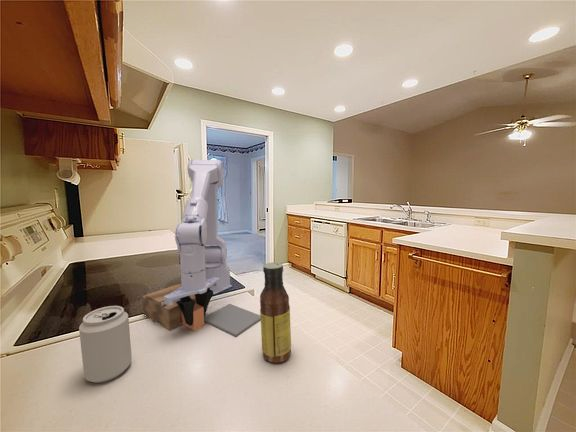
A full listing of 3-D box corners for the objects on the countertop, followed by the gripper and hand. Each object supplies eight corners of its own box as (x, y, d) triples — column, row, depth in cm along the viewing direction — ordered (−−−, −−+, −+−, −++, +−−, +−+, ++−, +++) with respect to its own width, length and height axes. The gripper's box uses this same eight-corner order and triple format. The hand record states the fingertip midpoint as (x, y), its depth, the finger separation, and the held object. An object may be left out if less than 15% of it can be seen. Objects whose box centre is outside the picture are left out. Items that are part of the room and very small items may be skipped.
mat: (229, 305, 74) (229, 303, 74) (262, 318, 67) (262, 316, 67) (201, 320, 66) (201, 318, 66) (235, 337, 58) (235, 334, 58)
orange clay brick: (171, 318, 67) (170, 300, 66) (181, 313, 69) (180, 296, 68) (194, 330, 61) (193, 311, 60) (204, 325, 63) (203, 306, 63)
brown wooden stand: (143, 315, 68) (142, 292, 67) (176, 301, 76) (175, 281, 75) (169, 330, 61) (168, 305, 60) (203, 313, 69) (202, 291, 68)
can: (114, 386, 44) (108, 324, 42) (73, 386, 44) (66, 323, 43) (140, 357, 51) (136, 303, 50) (105, 357, 51) (100, 302, 50)
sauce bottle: (292, 346, 55) (292, 260, 53) (289, 366, 49) (290, 270, 47) (263, 344, 56) (262, 259, 53) (257, 363, 50) (256, 269, 47)
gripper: (175, 282, 53) (178, 340, 55) (226, 264, 65) (227, 313, 67) (157, 275, 57) (161, 330, 59) (209, 260, 69) (210, 306, 70)
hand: (195, 320), depth 63 cm, fingers closed on orange clay brick, 3 cm apart
